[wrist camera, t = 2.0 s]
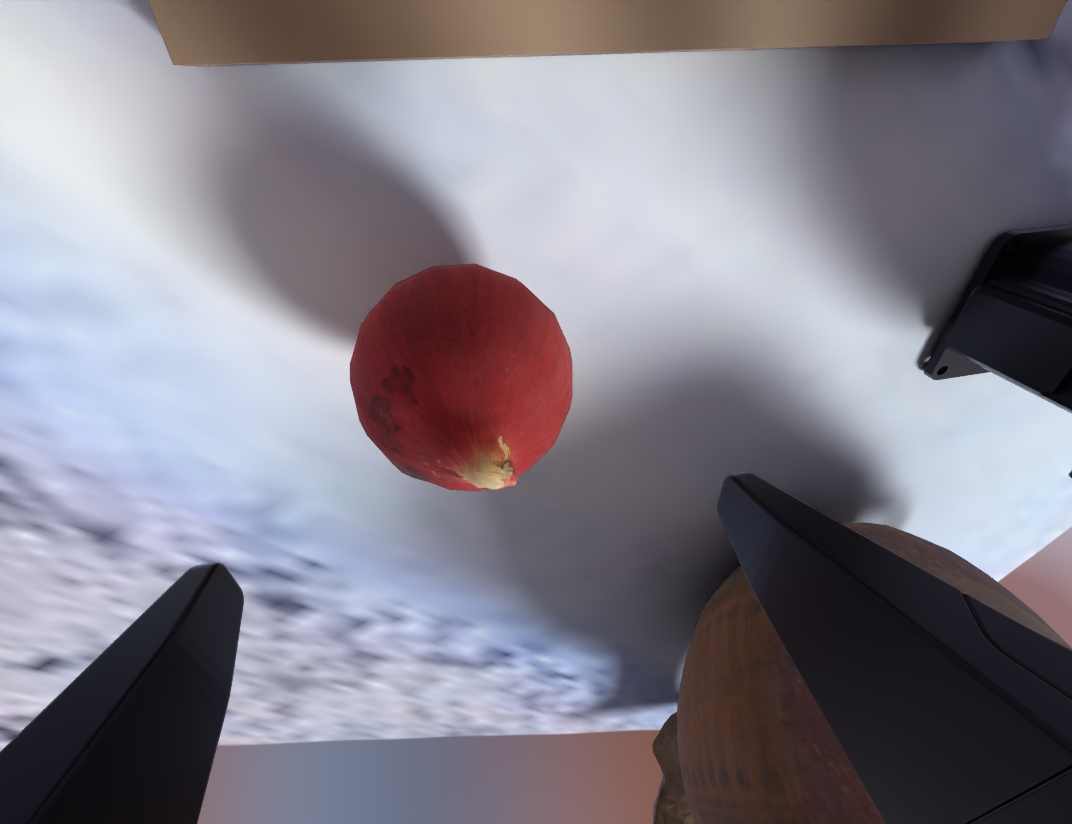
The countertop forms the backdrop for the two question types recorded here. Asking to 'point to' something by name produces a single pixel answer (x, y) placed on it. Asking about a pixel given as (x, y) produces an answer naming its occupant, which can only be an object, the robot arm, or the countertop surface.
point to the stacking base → (571, 27)
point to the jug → (777, 710)
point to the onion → (462, 377)
